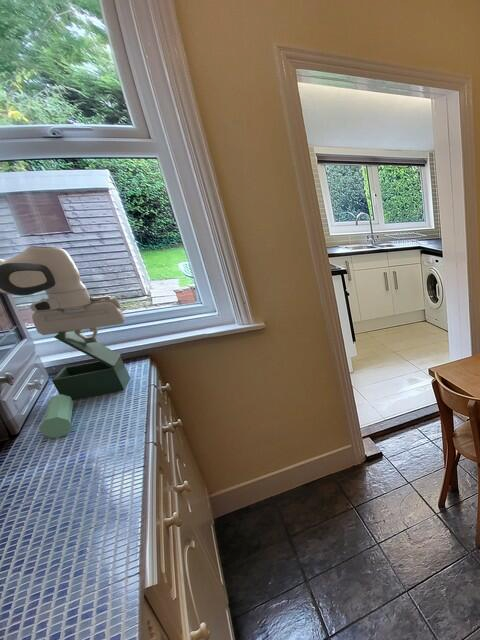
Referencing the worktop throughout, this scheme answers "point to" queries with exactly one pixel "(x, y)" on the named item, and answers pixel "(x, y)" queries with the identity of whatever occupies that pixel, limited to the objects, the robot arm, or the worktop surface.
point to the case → (91, 379)
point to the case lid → (89, 348)
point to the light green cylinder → (58, 417)
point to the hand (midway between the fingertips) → (92, 342)
